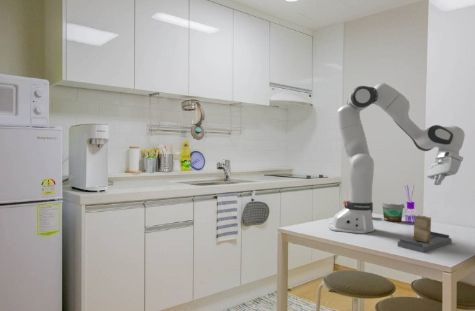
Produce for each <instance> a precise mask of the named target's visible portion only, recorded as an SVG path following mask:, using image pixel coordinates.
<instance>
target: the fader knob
mask: <svg viewBox="0 0 475 311" xmlns="http://www.w3.org/2000/svg"><path fill="white" fill-rule="evenodd" d="M413 217H414V218H413V219H414V221H413V237H414V240H419V241H423V242H428V241H430V236H431V232H432V230H431V229H432V217H429V216H426V215H415V216H413Z"/></svg>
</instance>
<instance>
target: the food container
mask: <svg viewBox="0 0 475 311" xmlns="http://www.w3.org/2000/svg"><path fill="white" fill-rule="evenodd" d="M381 207H382V213H383V214H382V215H383V216H382V217H383V221H384V222H387V223H395V222H398V223H401V222H402V219H403V211H404V209H405V204H404V203H402V204H396V203H386V202H385V203H384V202H382V204H381Z"/></svg>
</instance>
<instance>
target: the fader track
mask: <svg viewBox="0 0 475 311" xmlns="http://www.w3.org/2000/svg"><path fill="white" fill-rule="evenodd" d="M448 244H452V238H451V237H450V235H449V234H445V233H440V232H435V231H431V236H430V241H428V242H423V241H419V240H414V236H412V237H409V238H405V239H404V238H400V239H399V240H398V241H397V247H398V248H400V247H401V248H404V249H408V250H410V251H411V250H412V251H416V252H418V253H419V252H420V253H426V252H430V251H431V250H434V249H437V248H440V247H443V246H446V245H448Z"/></svg>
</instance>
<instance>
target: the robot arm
mask: <svg viewBox="0 0 475 311" xmlns="http://www.w3.org/2000/svg"><path fill="white" fill-rule="evenodd" d="M371 105H376V106H378V107H380V108H381V109H382V111H384V112H385V113H387V115H388V116H390V117H391V118H392V120H393V121H394V122H395V124H396V125H397V126H398V127H399V128H400V129H401V130H402V131H403V132H404V133H405V134H406V135H407V136H408V137H410V139H411V140H412V142H413V144H414V145H415V147H416V148H417V149H418V150H420V151H423V152H429V151H431V150H433V149H434V148H438V151H437V153H436V155H435V162H433V163H431V165H430V166H429V168H428V170H427V172H426V178H428V179H430V180H434V182H433V185H435V186H441V185H442V182H443V181H444V179H445V178H446V177H449V176H455V175H456V174H457V173H458V171H459V169H460V166H461V164H462V162H463V160H464V157H463V156H461V155H460V150H461V149H462V147H463V144H464V141H465V135H466V134H465V131H464V129H462V128H461V127H459V126H456V125H449V126H442V125H438V124H435V125H431V126H430V127H427V128H426V129H421V128H420V127H419V126H418V125H417V124H416V123H415V122H414V121H413V120H411V118H410V116H409V111H410V108H411V106H410V101H409V100H408V99H407V97H406V96H404V94H402V93H401V92H400V91H399V90H397V89H395V88H394V87H392V86H391V85H389V84H387V83H385V82H381V83H378V84H375V85H374V86H366V85H359V86H357V87H355V88H353V89H352V91H350V93H349V95H348V98H347V103H346V104H344V105H342V106H340V107H339V108H338V110H337V111H336V117H337V124H338V128H339V131H340V135H341V138H342V139H341V140H342V143H343V145H344V149H345V154H346V157H347V161H348V164H349V168H350V169H349V185H348V200H343V201H342V204H343V205H344V208H343V209H340V211H338V212H336V213H335V214H334V216H333V220H332V222H330V223H328V229H329V230H331V231H335V232H344V233H354V234H366V233H371V232H374V231H375V227H374V222H373V211H374V204H373V202H372V201H373V182H374V170H375V162H374V158H373V157H372V155H370V154H371V153H370V151H369V147H368V142H367V138H366V134H365V131H364V127H363V123H362V120H361V116H360V114H361V111H362V110H365V109H367V108H368V107H369V106H371Z"/></svg>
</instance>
